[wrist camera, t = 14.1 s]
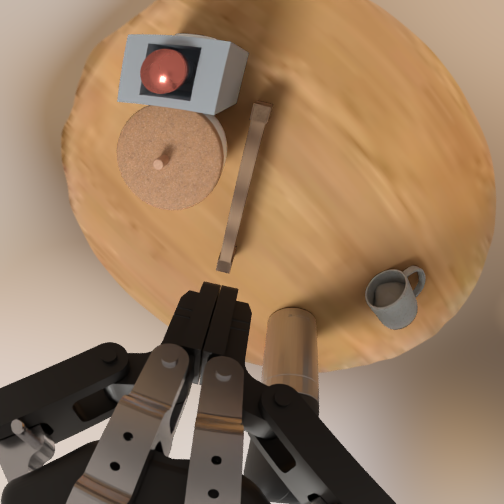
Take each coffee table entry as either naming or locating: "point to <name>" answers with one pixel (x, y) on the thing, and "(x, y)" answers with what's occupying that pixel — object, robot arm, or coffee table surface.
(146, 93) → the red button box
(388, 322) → the ceramic mug
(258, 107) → the brown curved bar
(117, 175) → the coffee table surface
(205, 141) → the lidded bowl
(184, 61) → the plunger
